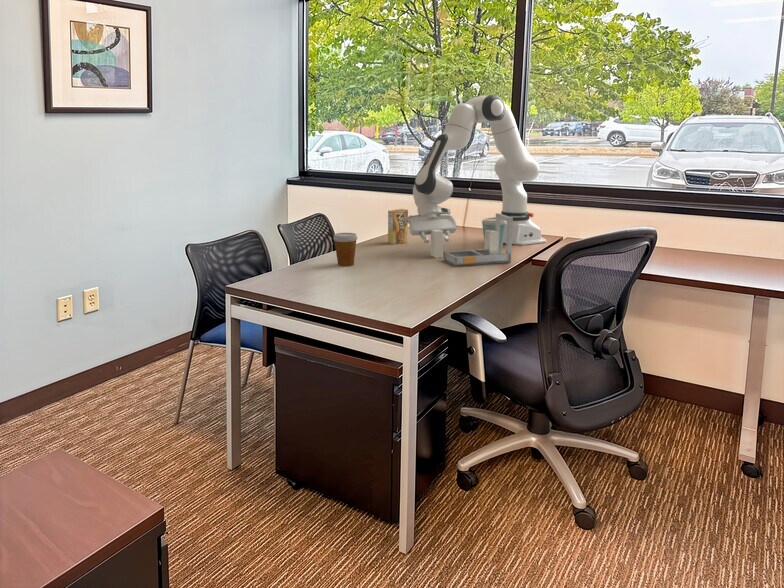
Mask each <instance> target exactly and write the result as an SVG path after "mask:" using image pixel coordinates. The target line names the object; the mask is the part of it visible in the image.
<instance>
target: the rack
mask: <svg viewBox="0 0 784 588" xmlns="http://www.w3.org/2000/svg"><path fill="white" fill-rule="evenodd" d="M495 217H496V219H495V231H494V230H485V242H483V243H484V246H483V247H484V248H483V249H482V248H480V249H465V250H464V249H463V250H453V251H443V261H444V260H445V262H446V263H448V264H450V265H451V264H452V265H451V266H453V265H454V266H453V267H455V266H456V267H466V266H467V267H468V266H469V265H470V266H481V265H482V266H483V265H494V264H506V263H511V261H512V246H513V244H512V226H513V218H512V217H509V216H506V215H502V214H501V213H495ZM500 219H502V220H506V221H508V222H507V243H505V244H506V245H505V246H506V248H505V249H506V250H505V253H499V242H500Z"/></svg>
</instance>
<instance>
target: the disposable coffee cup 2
mask: <svg viewBox="0 0 784 588" xmlns="http://www.w3.org/2000/svg"><path fill="white" fill-rule="evenodd" d="M495 219H496V216H495V217H494V216H493V217H492V216H491V217H487V218H483V220H481V225H482V233H483V240H484V242H483V243H485V230H494V231H495ZM506 224H507V221H506V220H502V219H500V242H499V254H502V250H503V245H504V243H503V240H504V234H505V229H506Z"/></svg>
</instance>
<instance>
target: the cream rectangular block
mask: <svg viewBox="0 0 784 588" xmlns="http://www.w3.org/2000/svg"><path fill="white" fill-rule="evenodd" d="M430 256H431V257H432V256H433V258H434V257H435V258H434V259H438V258H437V257H441V258H444V234H443V231H442V230H432V231H431V235H430Z"/></svg>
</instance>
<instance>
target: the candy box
mask: <svg viewBox="0 0 784 588" xmlns="http://www.w3.org/2000/svg"><path fill="white" fill-rule="evenodd" d="M408 217H409V209H405V208H399V209H391V210H387V244H391V245H396V244H397V245H398V244H403V243H408V239H409V238H408V236H409V235H408V230H409V229H408V227H409V223H408V221H407V218H408Z"/></svg>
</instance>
